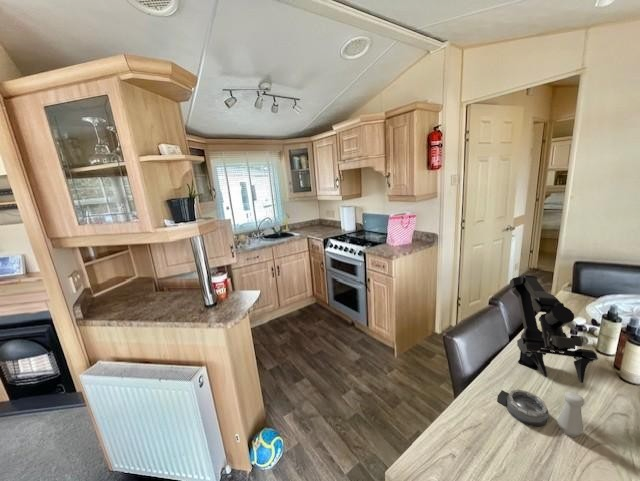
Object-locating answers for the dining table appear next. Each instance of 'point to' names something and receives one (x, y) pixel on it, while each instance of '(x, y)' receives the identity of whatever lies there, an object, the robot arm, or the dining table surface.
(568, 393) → the salt shaker
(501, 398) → the grey round shallow dish
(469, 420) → the dining table surface
